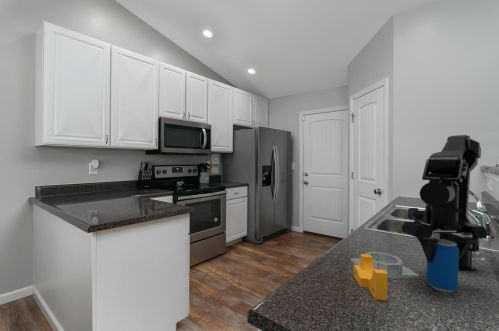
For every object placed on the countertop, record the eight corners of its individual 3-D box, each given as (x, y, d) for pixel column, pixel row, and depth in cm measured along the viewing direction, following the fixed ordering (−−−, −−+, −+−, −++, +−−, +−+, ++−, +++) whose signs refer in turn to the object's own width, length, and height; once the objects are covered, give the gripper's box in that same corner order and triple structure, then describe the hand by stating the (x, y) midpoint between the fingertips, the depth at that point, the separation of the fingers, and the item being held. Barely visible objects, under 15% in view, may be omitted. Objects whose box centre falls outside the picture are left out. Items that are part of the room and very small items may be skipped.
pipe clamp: (353, 276, 68) (354, 253, 68) (369, 277, 68) (370, 254, 68) (367, 299, 57) (367, 271, 57) (387, 301, 56) (387, 273, 56)
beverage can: (450, 283, 65) (452, 239, 65) (462, 296, 59) (464, 247, 59) (422, 279, 67) (423, 236, 67) (431, 290, 61) (432, 243, 61)
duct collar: (391, 260, 80) (392, 251, 80) (419, 278, 68) (419, 266, 68) (350, 260, 79) (351, 250, 79) (371, 278, 67) (371, 266, 67)
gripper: (450, 198, 71) (448, 251, 71) (389, 197, 70) (388, 251, 70) (490, 205, 60) (488, 267, 60) (418, 204, 59) (416, 267, 59)
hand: (442, 262), depth 63 cm, fingers closed on beverage can, 6 cm apart
